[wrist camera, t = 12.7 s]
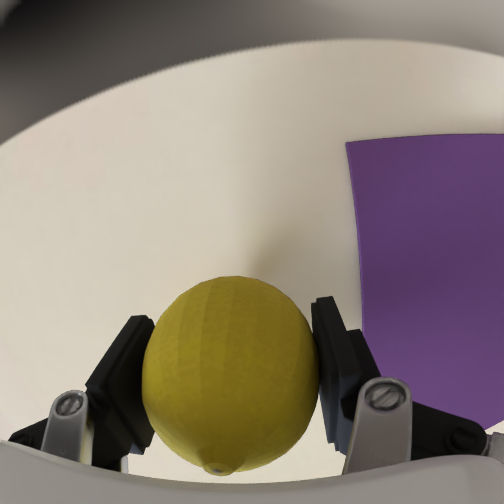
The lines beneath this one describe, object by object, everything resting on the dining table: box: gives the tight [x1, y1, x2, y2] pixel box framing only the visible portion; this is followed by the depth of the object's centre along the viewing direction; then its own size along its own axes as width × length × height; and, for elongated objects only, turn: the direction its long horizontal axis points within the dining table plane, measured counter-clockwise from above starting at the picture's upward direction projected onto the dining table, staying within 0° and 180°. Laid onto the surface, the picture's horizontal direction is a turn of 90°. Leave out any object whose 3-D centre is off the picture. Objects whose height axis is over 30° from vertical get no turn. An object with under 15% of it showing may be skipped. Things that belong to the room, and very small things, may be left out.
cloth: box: [345, 134, 504, 430], centre depth 14 cm, size 24×16×1 cm, turn 11°
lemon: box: [142, 276, 320, 476], centre depth 9 cm, size 6×6×8 cm
